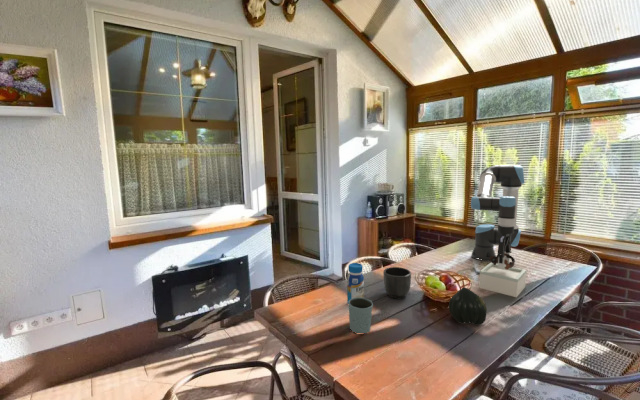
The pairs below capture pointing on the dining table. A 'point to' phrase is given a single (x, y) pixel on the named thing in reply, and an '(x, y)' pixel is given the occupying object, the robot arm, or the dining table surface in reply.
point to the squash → (467, 307)
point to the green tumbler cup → (360, 314)
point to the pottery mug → (508, 265)
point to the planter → (397, 281)
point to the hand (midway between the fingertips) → (503, 266)
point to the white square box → (502, 279)
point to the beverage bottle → (355, 282)
